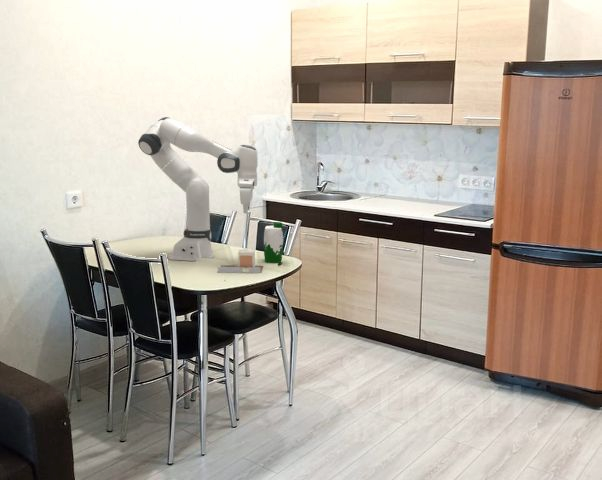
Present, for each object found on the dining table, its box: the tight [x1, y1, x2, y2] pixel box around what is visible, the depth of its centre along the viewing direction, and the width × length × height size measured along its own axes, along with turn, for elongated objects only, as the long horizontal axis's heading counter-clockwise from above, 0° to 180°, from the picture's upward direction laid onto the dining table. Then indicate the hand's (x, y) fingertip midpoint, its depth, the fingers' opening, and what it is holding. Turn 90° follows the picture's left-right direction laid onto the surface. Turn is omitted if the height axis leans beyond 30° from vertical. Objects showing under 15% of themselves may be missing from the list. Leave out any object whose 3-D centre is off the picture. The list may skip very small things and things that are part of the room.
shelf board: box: [216, 264, 264, 274], centre depth 291 cm, size 20×14×1 cm
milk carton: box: [263, 221, 284, 266], centre depth 306 cm, size 9×9×20 cm
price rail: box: [217, 266, 261, 274], centre depth 284 cm, size 19×1×2 cm, turn 89°
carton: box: [237, 249, 256, 267], centre depth 288 cm, size 7×5×9 cm
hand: (246, 211), depth 290 cm, fingers open, 8 cm apart
